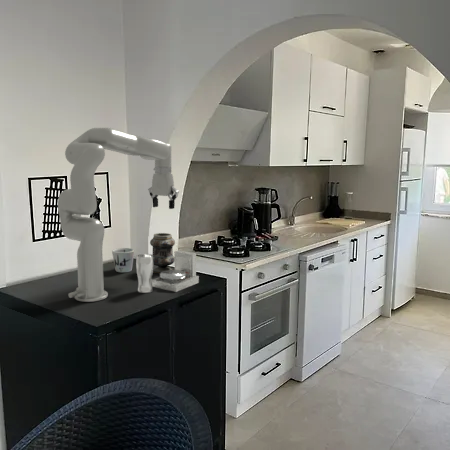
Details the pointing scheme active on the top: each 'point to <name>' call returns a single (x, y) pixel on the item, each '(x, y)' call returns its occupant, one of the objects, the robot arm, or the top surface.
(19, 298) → the top surface
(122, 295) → the top surface
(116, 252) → the mug
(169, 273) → the scale pan
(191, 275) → the scale
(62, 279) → the top surface
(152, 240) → the apothecary jar
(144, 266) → the beer glass
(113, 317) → the top surface
